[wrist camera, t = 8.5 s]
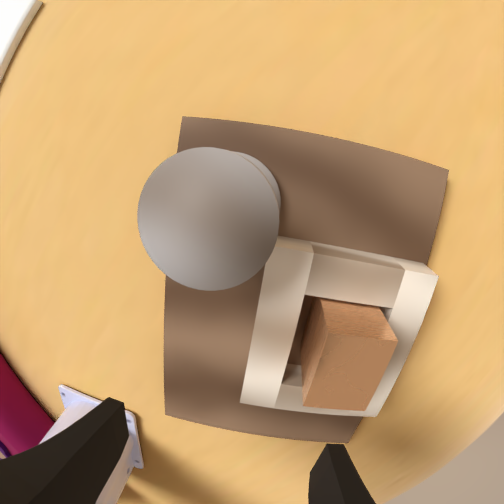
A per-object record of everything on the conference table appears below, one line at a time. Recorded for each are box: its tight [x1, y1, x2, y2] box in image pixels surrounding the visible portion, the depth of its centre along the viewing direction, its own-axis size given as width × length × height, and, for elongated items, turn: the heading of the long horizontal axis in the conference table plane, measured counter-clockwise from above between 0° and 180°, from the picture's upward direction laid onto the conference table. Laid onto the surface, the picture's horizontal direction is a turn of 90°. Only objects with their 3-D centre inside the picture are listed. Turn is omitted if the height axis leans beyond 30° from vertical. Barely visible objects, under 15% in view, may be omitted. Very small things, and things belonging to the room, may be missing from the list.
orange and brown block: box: [300, 296, 398, 411], centre depth 14 cm, size 4×3×5 cm
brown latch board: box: [138, 116, 449, 443], centre depth 15 cm, size 20×14×6 cm
